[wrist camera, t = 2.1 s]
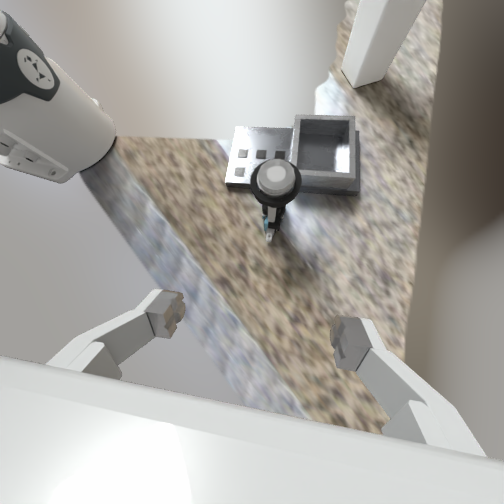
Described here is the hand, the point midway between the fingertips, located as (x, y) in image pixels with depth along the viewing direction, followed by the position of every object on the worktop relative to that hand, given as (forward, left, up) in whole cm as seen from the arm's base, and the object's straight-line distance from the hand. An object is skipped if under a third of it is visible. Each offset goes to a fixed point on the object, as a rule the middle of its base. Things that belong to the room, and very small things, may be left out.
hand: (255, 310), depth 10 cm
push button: (0, +12, -16) cm, 20 cm away
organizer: (+2, +23, -15) cm, 28 cm away
